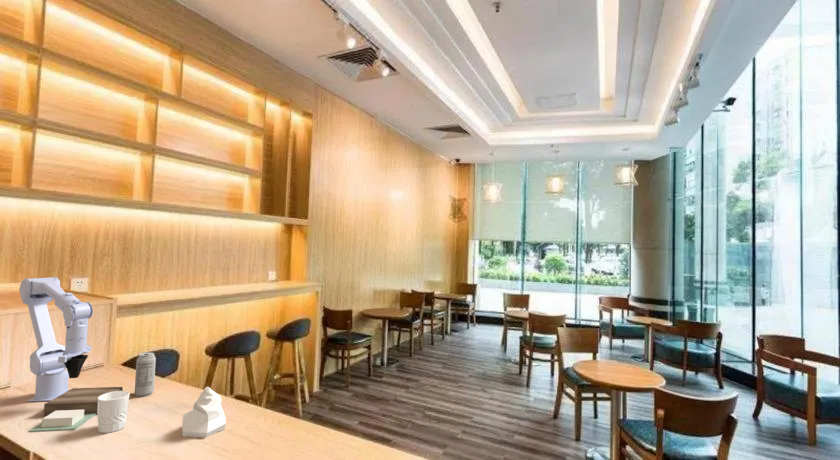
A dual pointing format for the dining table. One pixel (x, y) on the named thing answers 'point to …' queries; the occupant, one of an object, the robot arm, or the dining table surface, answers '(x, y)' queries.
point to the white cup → (112, 411)
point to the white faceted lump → (204, 416)
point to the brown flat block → (78, 400)
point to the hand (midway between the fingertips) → (74, 377)
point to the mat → (58, 428)
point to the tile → (62, 418)
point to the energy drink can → (145, 374)
